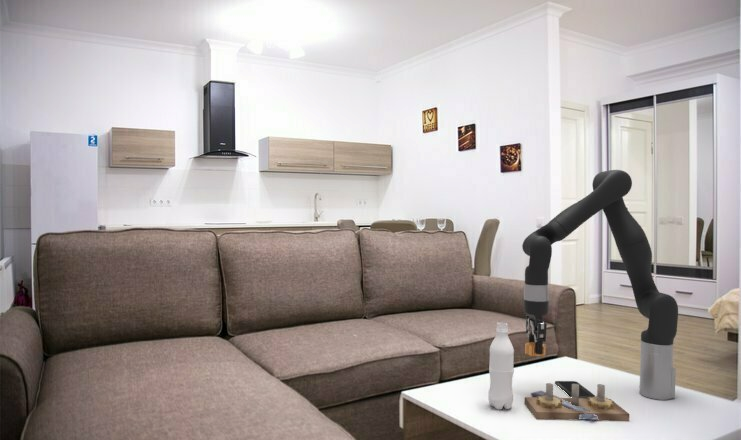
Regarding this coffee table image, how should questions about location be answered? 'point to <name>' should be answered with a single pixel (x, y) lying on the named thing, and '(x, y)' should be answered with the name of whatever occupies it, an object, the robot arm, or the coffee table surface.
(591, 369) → the coffee table surface
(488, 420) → the coffee table surface
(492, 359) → the water bottle
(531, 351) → the gear
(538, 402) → the gear board
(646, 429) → the coffee table surface
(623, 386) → the coffee table surface
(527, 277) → the robot arm
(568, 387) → the phone
